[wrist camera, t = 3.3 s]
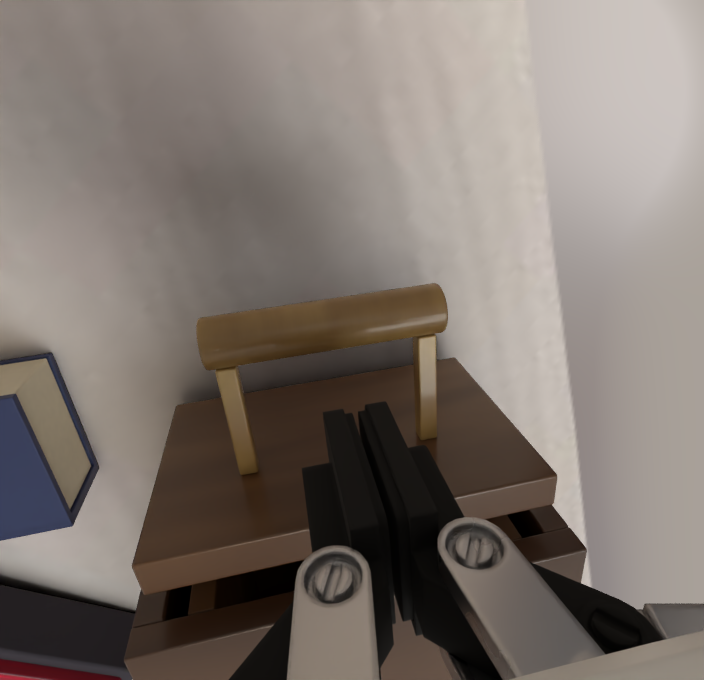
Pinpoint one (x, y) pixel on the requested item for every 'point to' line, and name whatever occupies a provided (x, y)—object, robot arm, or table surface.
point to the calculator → (60, 638)
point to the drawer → (315, 443)
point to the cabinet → (260, 615)
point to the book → (40, 449)
